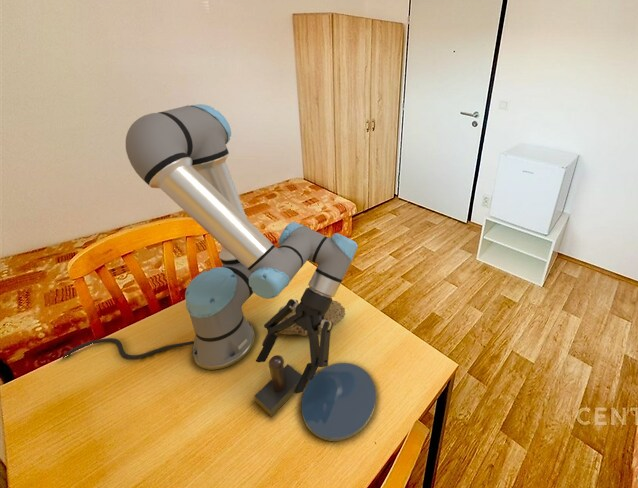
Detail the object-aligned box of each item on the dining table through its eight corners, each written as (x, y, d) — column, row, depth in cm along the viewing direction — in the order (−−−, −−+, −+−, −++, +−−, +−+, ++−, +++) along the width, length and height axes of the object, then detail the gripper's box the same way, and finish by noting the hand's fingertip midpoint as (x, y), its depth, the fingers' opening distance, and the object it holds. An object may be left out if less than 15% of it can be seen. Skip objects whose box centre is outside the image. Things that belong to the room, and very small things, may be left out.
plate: (291, 439, 71) (291, 436, 70) (313, 363, 87) (312, 360, 86) (372, 443, 71) (372, 440, 70) (378, 367, 87) (378, 365, 86)
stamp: (271, 417, 74) (265, 383, 69) (255, 402, 77) (248, 368, 71) (304, 382, 82) (301, 349, 76) (288, 369, 85) (284, 337, 79)
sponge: (272, 343, 93) (338, 340, 90) (266, 320, 91) (333, 317, 88) (291, 314, 105) (349, 311, 103) (286, 294, 104) (345, 290, 101)
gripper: (365, 315, 79) (325, 402, 74) (295, 275, 91) (256, 349, 85) (351, 313, 73) (306, 409, 68) (278, 270, 84) (235, 350, 79)
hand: (278, 376), depth 77 cm, fingers open, 13 cm apart
